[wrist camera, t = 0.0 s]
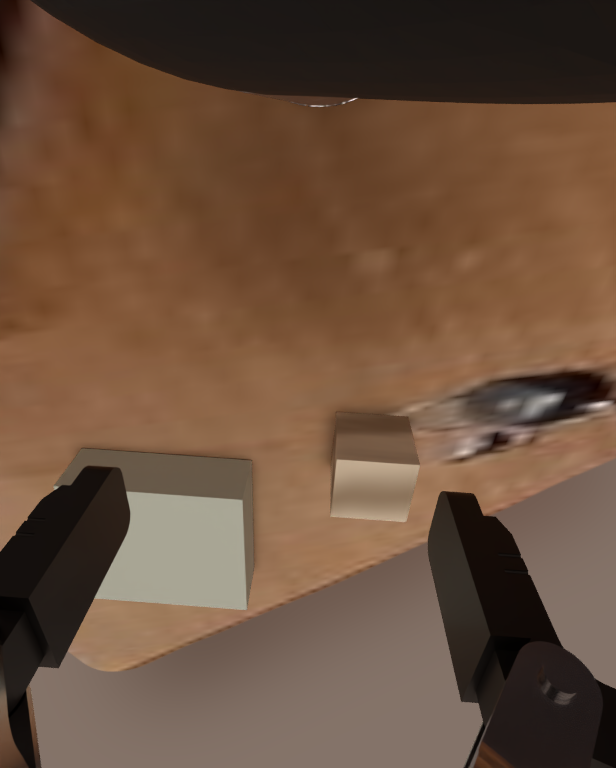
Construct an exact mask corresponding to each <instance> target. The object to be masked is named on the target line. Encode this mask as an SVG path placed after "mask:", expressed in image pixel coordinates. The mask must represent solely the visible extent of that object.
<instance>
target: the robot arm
mask: <svg viewBox="0 0 616 768" xmlns="http://www.w3.org/2000/svg"><path fill="white" fill-rule="evenodd" d="M31 1H32V2H34V3H35V4H36V5H38V6H39V7H41V8H42V9H43V10H45V11H46V12H48V13H49V14H50V15H52V16H53V17H55V18H57V19H58V20H60V21H62V22H64V23H65V24H67V25H69V26H70V27H72V28H74V29H75V30H77V31H79V32H80V33H82V34H84V35H85V36H87V37H89V38H90V39H92V40H94V41H95V42H97V43H99V44H101V45H103V46H105V47H108V48H110V49H112V50H114V51H116V52H118V53H120V54H122V55H124V56H126V57H129V58H131V59H133V60H135V61H137V62H139V63H141V64H144V65H147V66H149V67H152V68H155V69H158V70H161V71H163V72H166V73H169V74H172V75H175V76H177V77H180V78H183V79H186V80H190V81H195V82H199V83H203V84H207V85H211V86H216V87H220V88H224V89H229V90H236V91H241V92H244V93H249V94H254V95H259V96H264V97H269V98H274V99H279V100H284V101H288V102H291V103H295V104H299V105H304V106H306V105H308V106H311V107H327V106H335V105H340V104H344V103H347V102H350V101H352V100H355V99H357V98H362V99H384V100H406V101H429V102H456V103H494V104H575V103H605V102H616V0H31ZM129 524H130V507H129V503H128V498H127V493H126V488H125V484H124V479H123V474H122V471H121V469H120V468H118V467H105V466H91V465H88V466H86V467H84V468H83V469H82V471H81V472H80V473H79V475H78V476H77V477H76V479H75V480H74V481H73V483H72V484H71V485H61V486H60V487H58V488H57V489H56V490H54V491H53V492H51V493H50V494H49V495H47V496H46V497H44V498H43V499H42V500H41V501H40V502H39V504H38V505H37V506H36V507H35V509H34V510H33V511H32V512H31V514H30V515H29V516H28V520H27V521H24V523H23V524H22V525H21V526H20V528H19V529H18V530H17V531H16V535H15V536H12V538H11V539H10V540H9V542H8V543H7V544H6V545H5V547H4V548H3V549H2V550H1V552H0V768H42V767H41V760H40V753H39V745H38V738H37V730H36V723H35V716H34V708H33V701H32V694H31V688H30V685H29V683H30V681H31V679H32V678H33V676H34V674H35V672H36V671H37V669H38V667H51V668H59V666H60V664H61V662H62V660H63V659H64V657H65V655H66V653H67V651H68V649H69V647H70V645H71V643H72V641H73V639H74V637H75V635H76V633H77V631H78V629H79V627H80V625H81V623H82V621H83V619H84V617H85V615H86V613H87V611H88V609H89V608H90V606H91V604H92V602H93V600H94V598H95V596H96V594H97V592H98V590H99V588H100V586H101V584H102V582H103V580H104V578H105V576H106V574H107V572H108V570H109V568H110V566H111V564H112V562H113V560H114V558H115V557H116V555H117V553H118V551H119V549H120V547H121V545H122V543H123V541H124V539H125V537H126V535H127V532H128V529H129ZM428 556H429V561H430V566H431V570H432V575H433V579H434V583H435V588H436V592H437V597H438V601H439V606H440V610H441V614H442V619H443V623H444V628H445V632H446V636H447V641H448V645H449V650H450V654H451V658H452V663H453V667H454V672H455V676H456V681H457V685H458V690H459V694H460V698H461V701H462V702H472V703H473V702H474V703H479V706H480V710H481V714H482V718H483V723H482V725H481V727H480V729H479V732H478V734H477V736H476V739H475V741H474V743H473V746H472V748H471V750H470V753H469V755H468V758H467V760H466V762H465V764H464V767H463V768H616V689H615V688H612V687H610V686H608V685H605V684H603V683H601V682H600V681H598V680H596V679H595V678H594V676H593V675H592V673H591V672H590V671H589V669H588V668H587V667H586V666H585V665H584V664H583V663H582V662H581V661H580V660H579V659H578V658H577V657H576V656H575V655H573V654H572V653H570V652H569V651H567V650H566V649H564V648H563V646H562V645H561V643H560V641H559V639H558V637H557V635H556V632H555V630H554V628H553V626H552V623H551V621H550V619H549V617H548V614H547V612H546V610H545V608H544V605H543V603H542V601H541V599H540V597H539V594H538V592H537V590H536V587H535V585H534V583H533V581H532V578H531V576H530V575H528V570H527V567H526V565H525V563H524V561H523V559H522V558H521V554H520V552H519V549H518V547H517V545H516V543H515V540H514V538H513V536H512V534H511V533H510V532H509V531H508V530H507V529H506V528H505V527H504V525H503V524H502V523H501V522H500V521H499V520H498V519H497V518H496V517H492V516H483V514H482V511H481V509H480V506H479V504H478V501H477V499H476V497H475V495H474V494H472V493H461V492H447V491H442V492H441V493H440V495H439V497H438V501H437V505H436V509H435V512H434V516H433V520H432V524H431V527H430V531H429V536H428Z"/></svg>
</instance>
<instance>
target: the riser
mask: <svg viewBox="0 0 616 768" xmlns="http://www.w3.org/2000/svg"><path fill="white" fill-rule="evenodd" d="M88 465H91V466H105V467H118V468H120V469H121V471H122V474H123V479H124V484H125V488H126V493H127V498H128V503H129V507H130V524H129V529H128V532H127V535H126V537H125V539H124V541H123V543H122V545H121V547H120V549H119V551H118V553H117V555H116V557H115V558H114V560H113V562H112V564H111V566H110V568H109V570H108V572H107V574H106V576H105V578H104V580H103V582H102V584H101V586H100V588H99V590H98V592H97V594H96V596H95V598H97V599H110V600H123V601H136V602H149V603H162V604H175V605H188V606H201V607H214V608H227V609H240V610H247V606H248V601H249V595H250V589H251V583H252V578H253V572H254V538H253V495H252V460H240V459H226V458H212V457H198V456H184V455H170V454H156V453H142V452H128V451H114V450H100V449H86V448H82V449H81V450H80V451H79V453H78V454H77V455H76V457H75V458H74V459H73V461H72V462H71V463H70V465H69V466H68V467H67V469H66V470H65V471H64V473H63V474H62V475H61V477H60V478H59V479H58V481H57V482H56V484H55V485H54V489H55V490H56V489H57V488H58V487H60V486H61V485H71V484H72V483H73V481H74V480H75V479H76V477H77V476H78V475H79V473H80V472H81V471H82V469H83V468H84V467H86V466H88Z"/></svg>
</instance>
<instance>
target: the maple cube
mask: <svg viewBox="0 0 616 768" xmlns="http://www.w3.org/2000/svg"><path fill="white" fill-rule="evenodd" d="M419 468H420V463H419V459H418V455H417V451H416V446H415V442H414V438H413V434H412V430H411V426H410V422H409V418H408V417H405V416H390V415H376V414H362V413H347V412H336V420H335V430H334V439H333V449H332V459H331V507H330V517H344V518H357V519H371V520H385V521H399V522H406V520H407V516H408V512H409V508H410V504H411V500H412V496H413V492H414V488H415V484H416V480H417V476H418V472H419Z"/></svg>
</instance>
